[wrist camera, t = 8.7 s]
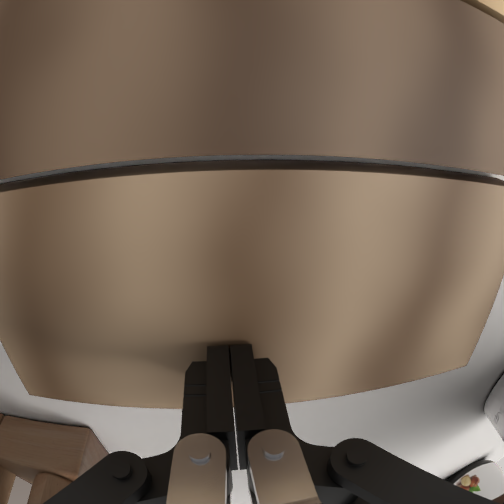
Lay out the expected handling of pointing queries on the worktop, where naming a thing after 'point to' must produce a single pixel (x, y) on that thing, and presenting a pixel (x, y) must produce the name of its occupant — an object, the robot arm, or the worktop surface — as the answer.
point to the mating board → (249, 81)
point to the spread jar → (481, 480)
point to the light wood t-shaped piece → (44, 456)
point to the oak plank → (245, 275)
